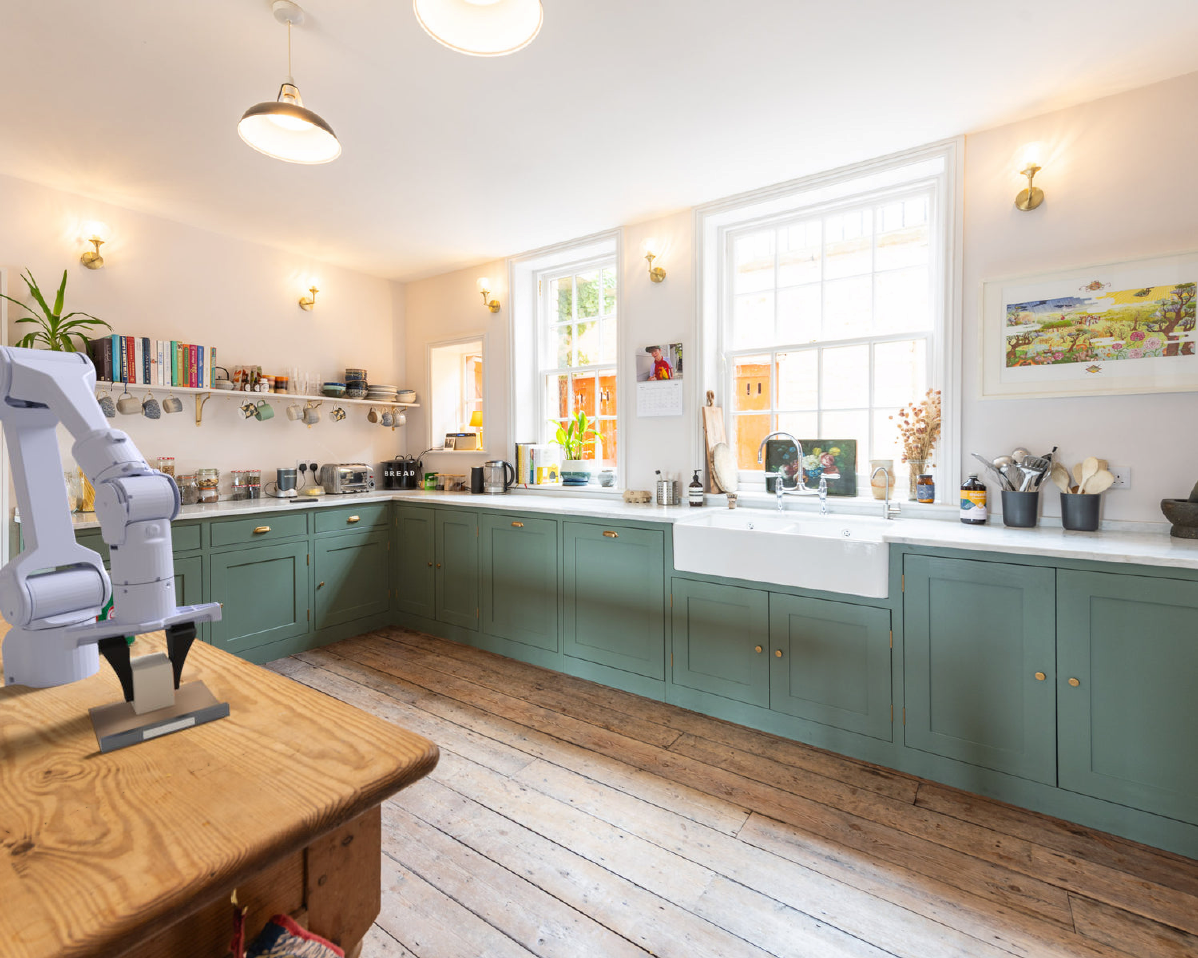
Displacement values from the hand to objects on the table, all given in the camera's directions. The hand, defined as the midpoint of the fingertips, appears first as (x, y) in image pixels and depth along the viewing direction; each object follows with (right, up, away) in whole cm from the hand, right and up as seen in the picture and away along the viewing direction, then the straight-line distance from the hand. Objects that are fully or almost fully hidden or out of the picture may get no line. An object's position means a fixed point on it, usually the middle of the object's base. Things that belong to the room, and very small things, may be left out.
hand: (152, 693), depth 69 cm
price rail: (+7, -1, -7) cm, 10 cm away
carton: (0, -1, 0) cm, 1 cm away
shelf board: (+2, -3, -2) cm, 4 cm away
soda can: (-24, -2, +24) cm, 34 cm away
